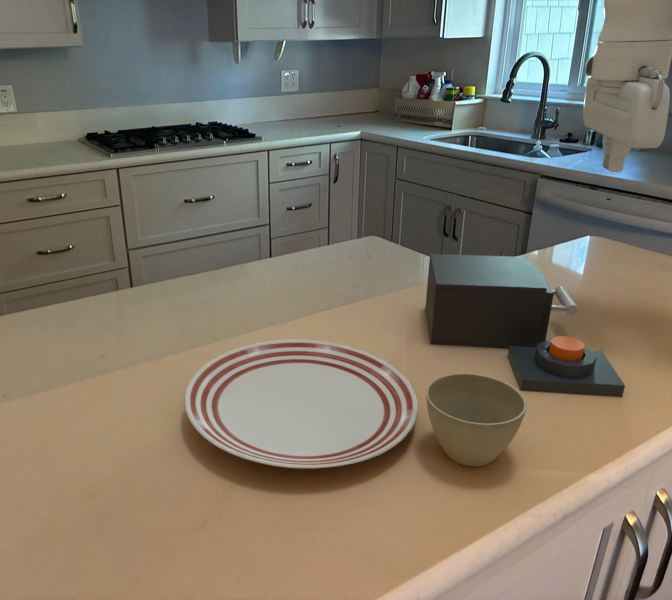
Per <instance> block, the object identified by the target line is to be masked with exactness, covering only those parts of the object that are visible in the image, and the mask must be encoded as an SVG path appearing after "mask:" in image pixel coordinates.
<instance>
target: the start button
mask: <svg viewBox="0 0 672 600" xmlns="http://www.w3.org/2000/svg"><path fill="white" fill-rule="evenodd" d="M550 340H551V342H550V347H549V354H550V355H551V356H553V357H555V358H558V359H561V360H565V361H579V360H582V358H583V353H584V348H585V347H586V345H585V343H584V341H582V340H580V339H577V338H576V337H572V336H567V335H558V336H554V337H552V338H551V339H550Z"/></svg>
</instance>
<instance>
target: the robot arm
mask: <svg viewBox="0 0 672 600" xmlns="http://www.w3.org/2000/svg"><path fill="white" fill-rule="evenodd" d="M602 5H603V7H602V8H603V15H604V16H603V25H602V29H601V30H600V33H599V35H598V37H597V42H596V49H595V50H594V53H593V55H592V56H591V57H589V58H588V59H587V61H586V63H585V69H584V75H585V76H586V77H588V78H587V81H586V84H585V92H584V102H583V113H582V114H583V115H582V116H583V124H584V126H585V127H586V128H589V129H590V130H593V131H595V132H598V133H599V134H601V135H603V136H602V141H601V142H602V153H603V158H602V164H601V166H602V168H604V169H605V170H607V171H609V172H610V173H621V172H623V170H624V165H625V161H626V159H627V157H628V155H629V153H630V151H631V150H632V149H657V148H659V147H660V146H661V145H662V143H663V141H664V139H665V135H666V128H667V123H668V117H669V110H670V99H671V93H670V92H671V91H670V87H669V86H668V84H666V83H665V82H666V81H665V79H668V76H669V72H670V67H671V62H672V0H603V4H602Z"/></svg>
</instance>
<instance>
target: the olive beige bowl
mask: <svg viewBox="0 0 672 600" xmlns="http://www.w3.org/2000/svg"><path fill="white" fill-rule="evenodd" d="M425 399H426V407H427V412H428V417H429V421H430V424H431V428H432V430H433V432H434V435H435V437H436V439H437V441H438V443H439V445H440V447H441V448H442V450H443V451H444V453H445V454H446V456H447V457H448V458H449V460H451V461H453V462H455V463H457V464H458V465H461V466H465V467H472V468H479V467H484V466H487V465H489V464H490V463H492V462H493V461H494V460H495V459H496V458H498V457H499V456H500V455H501V454H502V453H503V452H504V451H505V450H506V448H507V447H508V446H509V445H510V444H511V442H512V440H513V439H514V438H515V436H516V435H517V433H518V431H519V429H520V427H521V426H522V425H521V424H522V423H523V420H524V417H525V415H526V412H527V406H528V405H527V400H526V398H525V395H524V394H523V393H522V392H521V391H520V389H518V388H516V387H515V386H513V385H512V384H510V383H508V382H506V381H504V380H502V379H499V378H496V377H494V376H489V375H486V374H480V373H474V372H473V373H471V372H456V373H455V372H454V373H449V374H444V375H441V376H439V377H436V378H435V379H433V380H432V381H431V382H430V383H428V385H427V387H426V391H425Z"/></svg>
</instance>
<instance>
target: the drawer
mask: <svg viewBox="0 0 672 600" xmlns="http://www.w3.org/2000/svg"><path fill="white" fill-rule="evenodd" d="M531 264H532V266H533V267H534V269H535V271H536V272H537V274H538V275H539V277H540V279H541V280H542V282H543V283H544V285H545V287H546V288H547V290H546V296H545V302H544V308H543V314H542V319H541V325H540V331H539V337H538V343H537V344H540V343H541V342H545V341H547V334H548V329H549V324H550V319H551V312H552V311H553V312H554V311H555V312H565V313H566V314H567V315H569V316H574V315H577V314H578V312H579V306H578V305H577V304H576V302H575V301H574V299H573V297H572V296H570V293H568V290H567V289H566V288H565V287H564V286H562V285H561V286H556V287H555V289H552V288H551V286H550V285H549V283H548V282H547V280H546V278H545V277H544V276H543V274H542V272H541V271H540V269H539V267H538V266H537V264H536V263H531ZM554 295H555V297H556V298H557V300H558V301H559V303H560V305H555V304H553V300H554Z"/></svg>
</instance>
